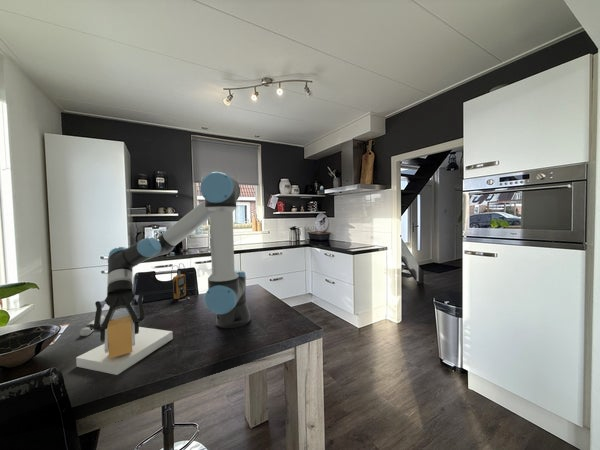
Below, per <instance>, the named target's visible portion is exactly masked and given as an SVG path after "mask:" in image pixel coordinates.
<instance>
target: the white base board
mask: <svg viewBox="0 0 600 450" xmlns="http://www.w3.org/2000/svg"><path fill="white" fill-rule="evenodd" d="M173 333H174V332H173V331H172V330H165V329H158V328H152V327H151V328H149V327H143V326H139V333H138V334H135V345H134V346H132V352H131V353H127V354H124V355H120V356H116V357H113V358H109V349H108V353H105V350H104V348H105V342H103V344H101V345H99V346H96V347H95V348H92V349H90V350H89V351H86V352H85V353H82V354H80V355H78V356H76V358H75V360H76V368H77V367H78V368H83V369H86V370H87V369H88V370H91V371H96V372H101V373H106V374H110V375H115V376H118V375H119V374H121V373H122V372H124V371H125V370H127V369H129V368H130V367H132V366H133V365H135V364H136V363H138V362H139V361H142V360H143V359H144V358H145V357H147V356H149V355H150V354H152V353H154V351H156V350H157V349H159V348H161V347H163V346H164V345H166V344H168V342H170V341H172V340H173V338H174V336H173Z"/></svg>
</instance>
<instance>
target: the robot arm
mask: <svg viewBox="0 0 600 450" xmlns="http://www.w3.org/2000/svg"><path fill="white" fill-rule="evenodd" d="M199 189H200V194H201V196H202V197H203V198H204V200H203V201H202V202H200V203H199V204H197V206H196V207H194V208H193V209H191V210H190V211H189V212H188V213H186V214H185V215H184V216H183V217H181V218H180V219H179V220H177V222H175V223H174V224H173V225H171V226H170V227H169V228H167V230H165V231H164V232H163V233H162V234H161V235H159V236H158V237H156V238H155V237H153V236H147V237H145V238H142V239H140V240H139V241H138V242H136V243H134V244H132V245H130V246H129V247H125V246H119V247H115V248H112V249H111V250H110V251H109V252H108V258H107V282H106V283H107V287H106V288H107V289H106V297H105V299H103V300H102V301H98V300H97V301H96V302H95V303H94V305H95V308H96V310H95V315H94V316H95V317H94V319H95V321H94V327H93V329H94V331H93V332H94V333H95V334H96V333H100V338H99V339H100V342H101V343H105V348H104V350H105V353H108V323H109V320H112V318H113V316H114V314H115V312H116V311H117V310H120V309H125V310H126V311H127V313H128V315H129V316H131V322H132V346H134V345H135V334H138V333H139V327H140V324H141V323H144V322H145V320H146V319H145V318H146V317H145V312H144V305H143V300H144V294H143V293H141V294H137V295H136V294H135V293H134V284H133V280H134V279H133V268H134V267H136V266H138V265H139V264H142V263H143V262H145V261H148V260H150V259H153V258H156V257H159V256H164V255H168V254H169V253H172V251H174V248H175V247H176V246H177V245H178V244H179V243H181V242H182V241H183V240H185V239H186V238H187V237H188V236H189V235H190V234H192V233H194V231H196V230H197V229H198V228H199V227H201V226H202V225H204V223H206V222H207V221H208V220H209V227H210V231H209V232H210V254H211V255H210V257H211V258H210V259H211V261H210V263H211V273H210V275H209V276H208V277H207V287H208V288H207V290H206V292H205V295H204V304H205V306H206V308H207V310H209V311H210V312H211V313H213V314H216V318H215V325H216V326H217V327H219V328H222V329H235V328H236V329H237V328H239V327H240V328H241V327H243V326H245V325H247V324H249V322H251V312H250V309H249V307H248V304H247V287H246V286H247V285H246V284H247V283H246V282H247V281H246V280H247V277H246V272H245V271H244V270H235V247H234V246H235V245H234V244H235V241H234V219H233V218H234V217H233V215H234V213H233V212H234V211H235V210H236V209H237V201H238V199H239V198H240V195H241V187H240V184H239V183H238V181H237V180H236V179H234V178H232V177H231V176H230V175H228V174H227V173H224V172H221V171H220V172H219V171H213V172H210V173H208V174H206V175H205V176H204V177H203V178H202V181H201V182H200V187H199ZM134 300H135V301H136V302H137V307H138V313H139V318H138V316H137V314H136V313H135V310H134V308H133V307H132V302H134ZM105 305H107V306H108V307H109V308H108V311H107V313H106V314H105V316H106V317H105V319H104V322H103V323H102V324H101V325H100V321H101V315H103V308H104V307H105Z"/></svg>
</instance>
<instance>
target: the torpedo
mask: <svg viewBox="0 0 600 450" xmlns="http://www.w3.org/2000/svg"><path fill="white" fill-rule="evenodd" d="M105 317H106V313H104V314H102V315H101V321H100V326H102V324H103V322H104V319H105ZM94 321H95V318H94V319H93V320H91V321H90V322H89V323H88V324H86V326H85V327H82V328H81V329H80V332H79V335H80V336H82V337H88V336H89V335H91V334H92V333H93V332H94V329H93V327H94ZM91 329H93V330H91Z"/></svg>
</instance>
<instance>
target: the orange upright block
mask: <svg viewBox="0 0 600 450" xmlns="http://www.w3.org/2000/svg"><path fill="white" fill-rule="evenodd" d="M132 323H133V321H132V319H131V316H130V315H129V316H123V317H119V318H114V319H111V320H109V323H108V328H107V329H108V349H109V358H113V357H116V356H120V355H124V354H127V353H131V352H132Z"/></svg>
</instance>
